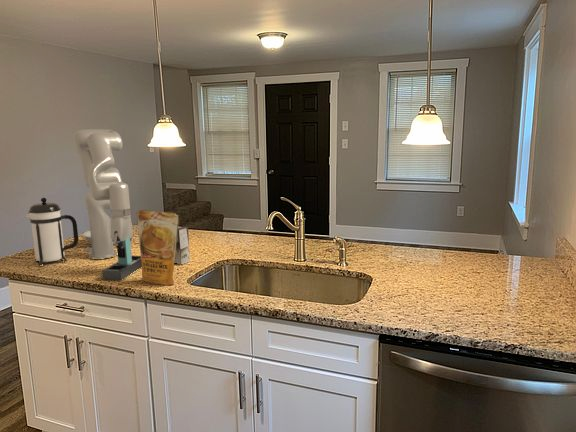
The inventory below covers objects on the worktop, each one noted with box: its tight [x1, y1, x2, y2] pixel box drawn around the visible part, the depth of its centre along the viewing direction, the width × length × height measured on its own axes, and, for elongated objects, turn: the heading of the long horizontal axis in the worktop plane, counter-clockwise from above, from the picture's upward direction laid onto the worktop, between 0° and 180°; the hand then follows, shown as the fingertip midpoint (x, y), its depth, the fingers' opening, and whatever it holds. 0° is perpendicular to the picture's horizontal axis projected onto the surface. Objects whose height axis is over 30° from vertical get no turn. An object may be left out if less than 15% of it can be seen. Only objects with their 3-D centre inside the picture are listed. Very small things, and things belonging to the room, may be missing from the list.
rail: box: [101, 255, 142, 281], centre depth 189 cm, size 8×22×4 cm, turn 172°
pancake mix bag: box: [136, 209, 180, 286], centre depth 174 cm, size 7×19×28 cm, turn 64°
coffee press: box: [25, 197, 79, 266], centre depth 204 cm, size 17×16×30 cm
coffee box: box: [174, 225, 191, 265], centre depth 201 cm, size 9×6×16 cm
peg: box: [117, 237, 133, 265], centre depth 187 cm, size 4×4×11 cm
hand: (124, 255), depth 188 cm, fingers closed on peg, 4 cm apart
